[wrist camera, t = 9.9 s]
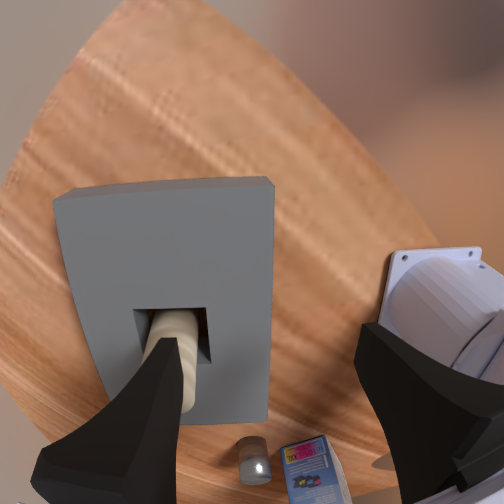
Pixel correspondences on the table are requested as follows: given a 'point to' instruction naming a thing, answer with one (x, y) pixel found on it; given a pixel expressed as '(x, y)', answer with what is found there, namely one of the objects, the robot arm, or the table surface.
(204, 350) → the hole plate
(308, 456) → the ink cartridge box
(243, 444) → the short steel pin
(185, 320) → the birch pin
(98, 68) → the table surface
